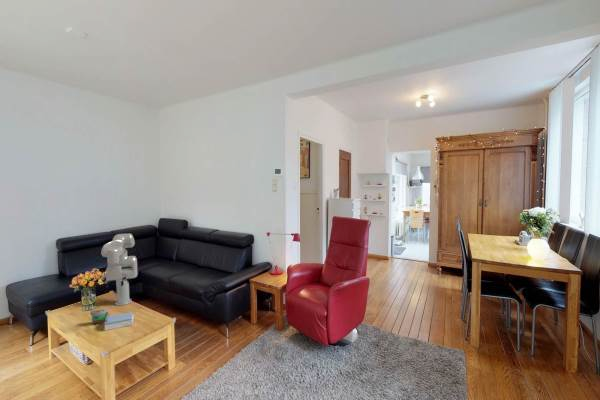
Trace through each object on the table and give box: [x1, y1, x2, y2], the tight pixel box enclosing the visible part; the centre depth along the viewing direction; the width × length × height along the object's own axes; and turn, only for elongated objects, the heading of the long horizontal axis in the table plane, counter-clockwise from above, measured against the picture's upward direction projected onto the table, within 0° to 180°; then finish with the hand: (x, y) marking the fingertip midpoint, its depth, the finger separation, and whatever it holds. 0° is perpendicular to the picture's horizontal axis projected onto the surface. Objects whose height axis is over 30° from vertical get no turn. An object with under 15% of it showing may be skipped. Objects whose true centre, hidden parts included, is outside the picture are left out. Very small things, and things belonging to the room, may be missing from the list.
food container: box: [90, 308, 109, 326], centre depth 214 cm, size 12×6×10 cm, turn 105°
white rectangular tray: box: [104, 315, 134, 332], centre depth 213 cm, size 12×17×4 cm
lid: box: [104, 311, 134, 326], centre depth 213 cm, size 12×17×3 cm
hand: (114, 286), depth 208 cm, fingers open, 9 cm apart
